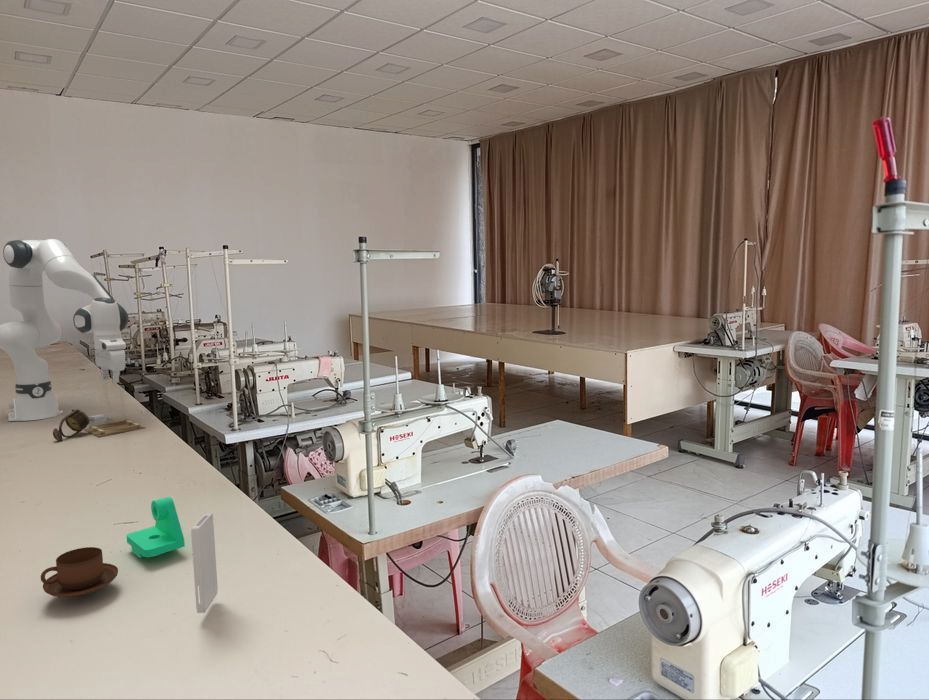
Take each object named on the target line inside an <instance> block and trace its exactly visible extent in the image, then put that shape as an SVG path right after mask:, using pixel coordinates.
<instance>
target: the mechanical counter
mask: <svg viewBox="0 0 929 700" xmlns="http://www.w3.org/2000/svg"><path fill="white" fill-rule="evenodd" d="M64 422H65V423H66V425H67V427H68V428H69V429H70V430H71V431H73V432H75V433H73V434H71V435H65V434H64V433H63V429H62V428H63V423H64ZM89 422H90V420H89V415H87V413H85V412H84V411H83V410H80V409H78V408H75V409H74V408H73V409H71V412H70V413H68V414H66V415H65V416H64V417H63V418H62V419H61V420H60V423H59V425H58V428H56V427H55V428H54V429H52V436H53V438H54V439H55V440H56V441H58V442H62V441H63V438H67V439H68V438H69V439H70V438H73V437H76V435H78V434H79V433H81V432H82V431H84V429H87V426H88V425H89Z"/></svg>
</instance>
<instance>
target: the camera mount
mask: <svg viewBox="0 0 929 700" xmlns="http://www.w3.org/2000/svg"><path fill="white" fill-rule="evenodd" d="M150 510H151V515H152V517H153V520H154V521H155V523H154V524H155V525H154V526H149V527H147V528H143V529H140V530H136V531H133V532H129V533H126V543H127V544H128V545H130V546H131V552H132V553H134V555H135V556H137V557H138V558H140V559H142V558H151V557H155V556H159V555H162V554H165V553H168V552H171V551H174V550H177V549H181V548H185V545H186V544H185V537H184V534H183V533H184V532H183V531H182V526H181V523H180V520H179V517H178V516H179V515H178V513H177V509H176V506H175V502H174V500H173V498H172V497H171V496H167V497H163V498H158V499H154V500H152V501H151V503H150Z"/></svg>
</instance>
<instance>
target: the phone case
mask: <svg viewBox="0 0 929 700" xmlns="http://www.w3.org/2000/svg"><path fill="white" fill-rule="evenodd" d="M214 525H215V524H214V514H213V513H204V514H203V515H202V516H201V517H200V519H198V521H196V523H195V524H194V525H193V526H192V528H191V531H190V532H191V533H190V536H191V546H192V547H191V550H192V551H191V552H192V566H193V578H194V581H193V582H194V590H195V591H194V594H195V608H196V612H197V613H198V614H205V613H206V611H207V610H208V609H209V607H210V606H211V604H212V603H213V601H214V599H215V598H216V596H217V595H218V588H219V586H218V573H217V572H218V571H217V560H216V542H215V541H216V540H215V526H214Z"/></svg>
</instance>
